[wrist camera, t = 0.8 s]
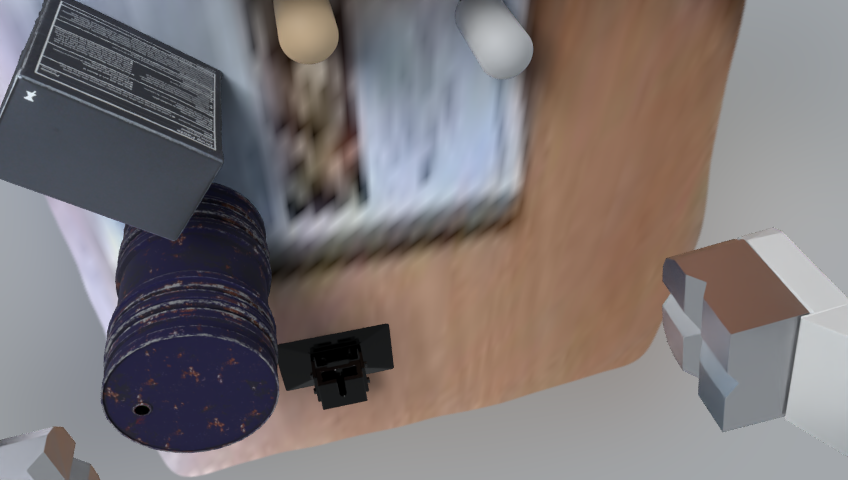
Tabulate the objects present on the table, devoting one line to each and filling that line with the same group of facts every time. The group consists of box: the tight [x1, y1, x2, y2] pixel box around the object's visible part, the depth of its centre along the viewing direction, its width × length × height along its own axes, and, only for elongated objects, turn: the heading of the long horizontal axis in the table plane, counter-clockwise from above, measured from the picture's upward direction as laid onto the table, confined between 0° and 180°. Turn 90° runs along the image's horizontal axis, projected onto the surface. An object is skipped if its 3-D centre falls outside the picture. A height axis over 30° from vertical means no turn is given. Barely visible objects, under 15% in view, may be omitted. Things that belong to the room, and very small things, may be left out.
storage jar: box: [101, 183, 279, 453], centre depth 51 cm, size 10×10×15 cm
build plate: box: [277, 324, 394, 410], centre depth 65 cm, size 12×7×5 cm, turn 94°
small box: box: [0, 0, 224, 241], centre depth 44 cm, size 11×6×10 cm, turn 55°
